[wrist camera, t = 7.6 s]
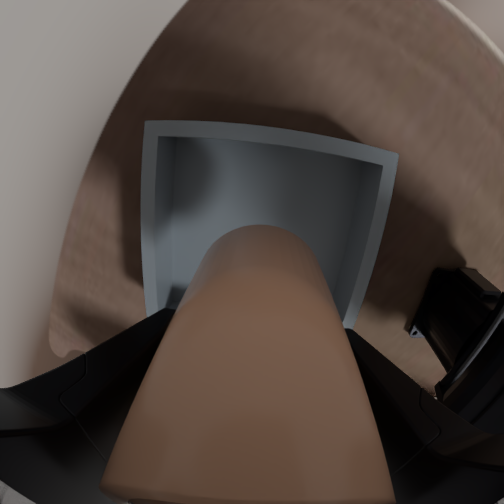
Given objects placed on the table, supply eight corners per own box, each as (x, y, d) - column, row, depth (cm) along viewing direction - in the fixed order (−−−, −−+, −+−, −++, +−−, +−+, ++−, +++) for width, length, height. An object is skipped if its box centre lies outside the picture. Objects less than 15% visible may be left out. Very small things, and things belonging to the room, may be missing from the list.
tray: (331, 321, 20) (342, 355, 16) (165, 301, 20) (148, 332, 16) (371, 150, 15) (399, 153, 11) (169, 124, 15) (144, 120, 11)
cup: (306, 337, 12) (332, 535, 4) (197, 324, 12) (136, 518, 4) (333, 234, 10) (461, 464, 2) (201, 217, 10) (44, 439, 2)
